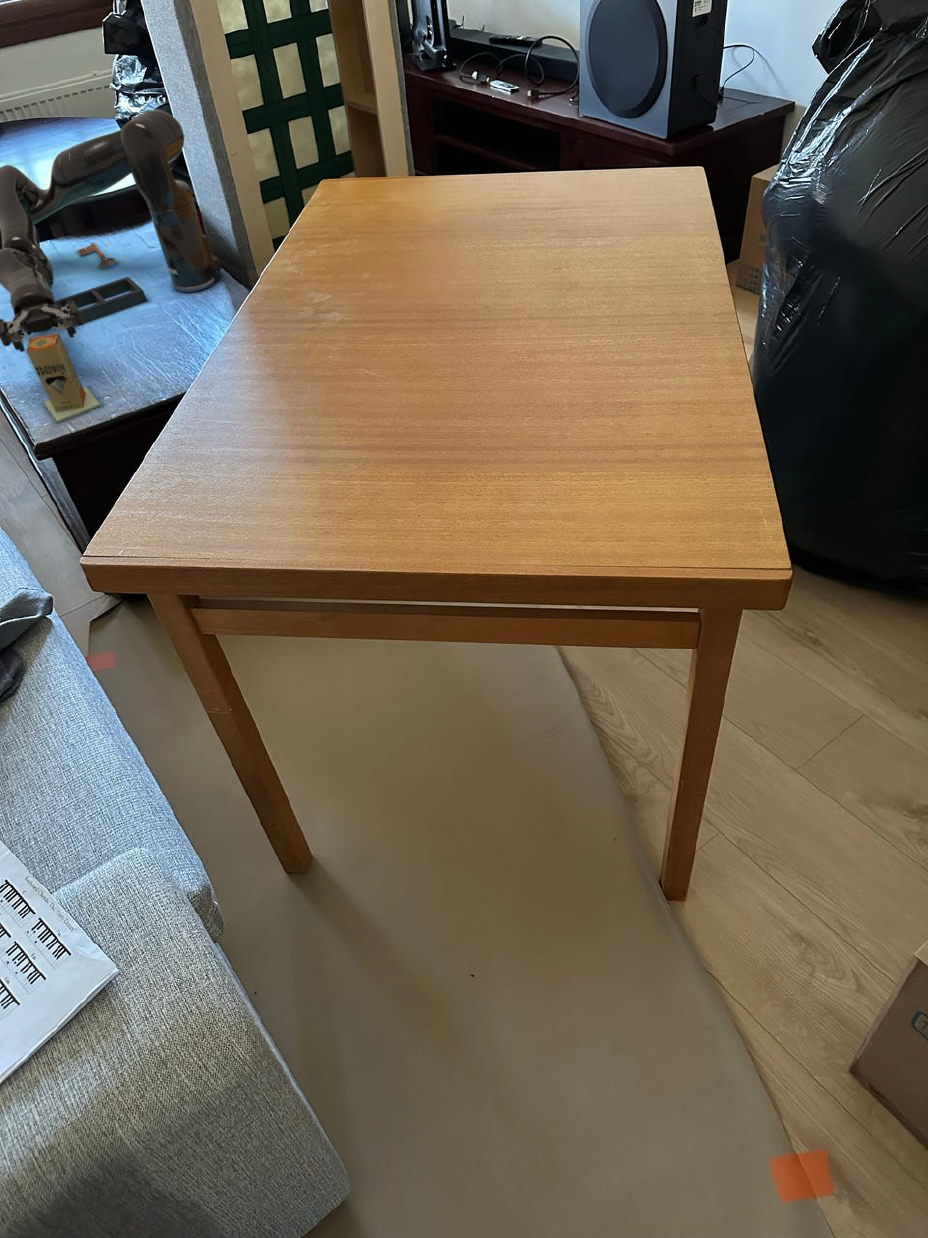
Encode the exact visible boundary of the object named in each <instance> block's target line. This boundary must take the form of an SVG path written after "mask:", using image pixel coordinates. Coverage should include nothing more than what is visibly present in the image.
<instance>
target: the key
mask: <svg viewBox="0 0 928 1238" xmlns="http://www.w3.org/2000/svg"><path fill="white" fill-rule="evenodd" d="M77 252H78V253H79V255H80V256H82V257H83V256H86V255H88V254H91V253H93V252H95V253H97V255H98V256H99V257H100V259H102V260H101V261H100V262H99V267H101V268H107V267H110V266H112V265H114V264H115V263H116V258H113V257H108V258H107V257H106V255H104V253H103V252H102V251H101V250H100V248H99V247H98V246H97V245H96V244H95V243H94V242H91V243H90V245H88V246H85V247H83V248H80V249H77Z"/></svg>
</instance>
